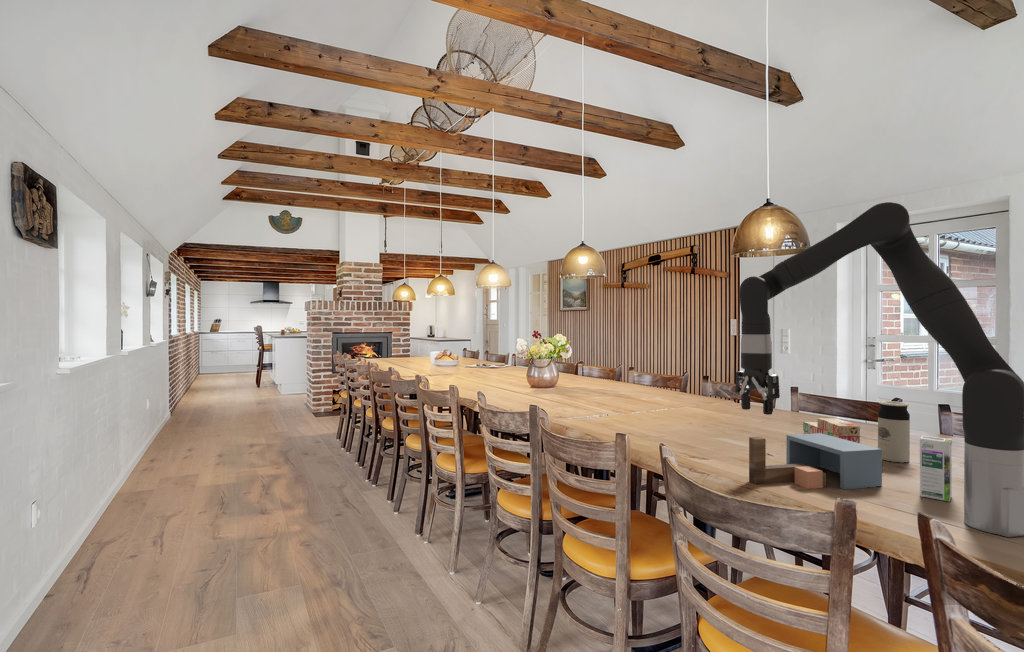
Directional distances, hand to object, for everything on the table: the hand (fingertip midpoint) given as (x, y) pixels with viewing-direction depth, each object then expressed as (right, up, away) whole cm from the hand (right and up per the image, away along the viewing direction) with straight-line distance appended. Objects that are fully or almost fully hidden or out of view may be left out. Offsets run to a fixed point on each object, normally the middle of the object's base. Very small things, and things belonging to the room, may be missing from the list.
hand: (756, 411), depth 135 cm
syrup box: (+39, -19, -11) cm, 45 cm away
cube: (+13, -19, -2) cm, 23 cm away
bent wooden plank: (+8, -19, -1) cm, 21 cm away
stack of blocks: (+37, -20, +28) cm, 50 cm away
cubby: (+24, -19, +6) cm, 31 cm away
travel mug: (+54, -19, +23) cm, 62 cm away
